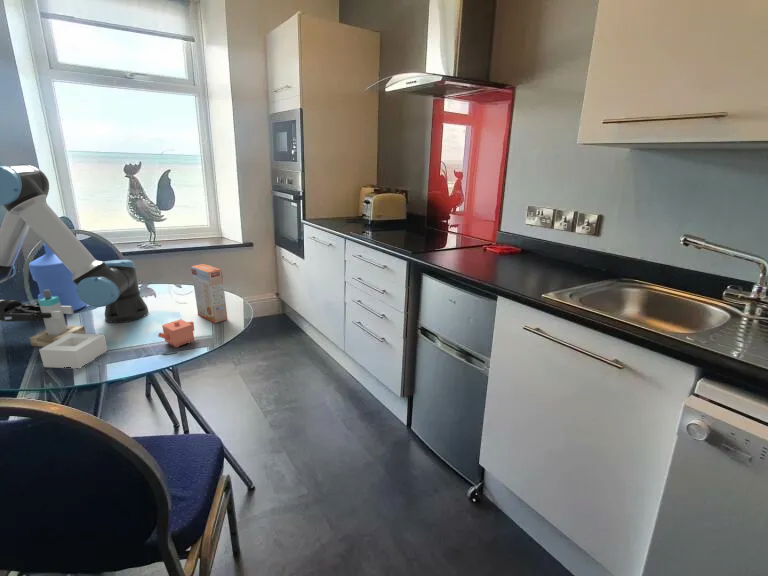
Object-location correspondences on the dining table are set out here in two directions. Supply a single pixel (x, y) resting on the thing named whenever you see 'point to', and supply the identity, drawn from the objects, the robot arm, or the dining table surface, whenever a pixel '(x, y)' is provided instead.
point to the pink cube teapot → (178, 332)
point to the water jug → (55, 279)
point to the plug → (52, 304)
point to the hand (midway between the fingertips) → (66, 312)
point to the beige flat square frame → (46, 339)
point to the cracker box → (209, 292)
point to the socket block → (73, 350)
